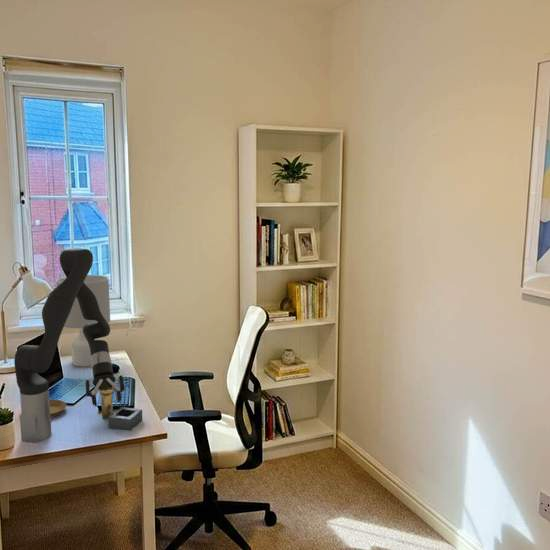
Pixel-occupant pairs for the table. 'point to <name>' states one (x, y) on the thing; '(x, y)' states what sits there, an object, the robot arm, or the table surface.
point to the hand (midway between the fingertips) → (107, 403)
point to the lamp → (76, 320)
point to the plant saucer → (56, 407)
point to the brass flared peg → (106, 402)
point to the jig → (125, 418)
